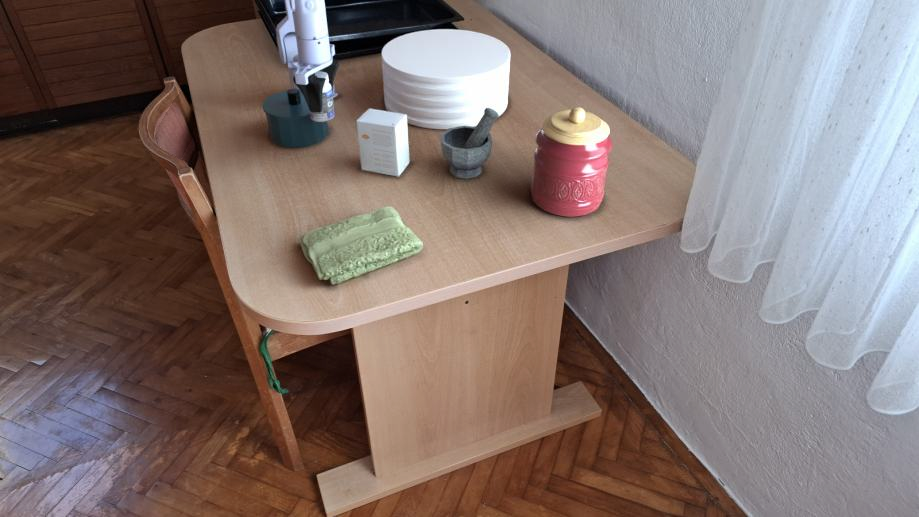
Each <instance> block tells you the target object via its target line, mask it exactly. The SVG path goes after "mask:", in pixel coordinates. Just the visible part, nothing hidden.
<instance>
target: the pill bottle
mask: <svg viewBox="0 0 919 517" xmlns="http://www.w3.org/2000/svg"><path fill="white" fill-rule="evenodd" d="M316 75H317V77H318V78H326V80H325V83H324V87H323V93H322V111H321V112H320V113H318V112H311V111H310V109H309V114H310V118H311V119H312V120H314V121H317V122H324V121H327V122H329V121H331V120H333V119H334V117H335V104H334V98H333V97H332V87H331V85H330V83H329V78H328V74H327V73H326V72H321V71H317V72H315V76H316Z"/></svg>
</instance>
